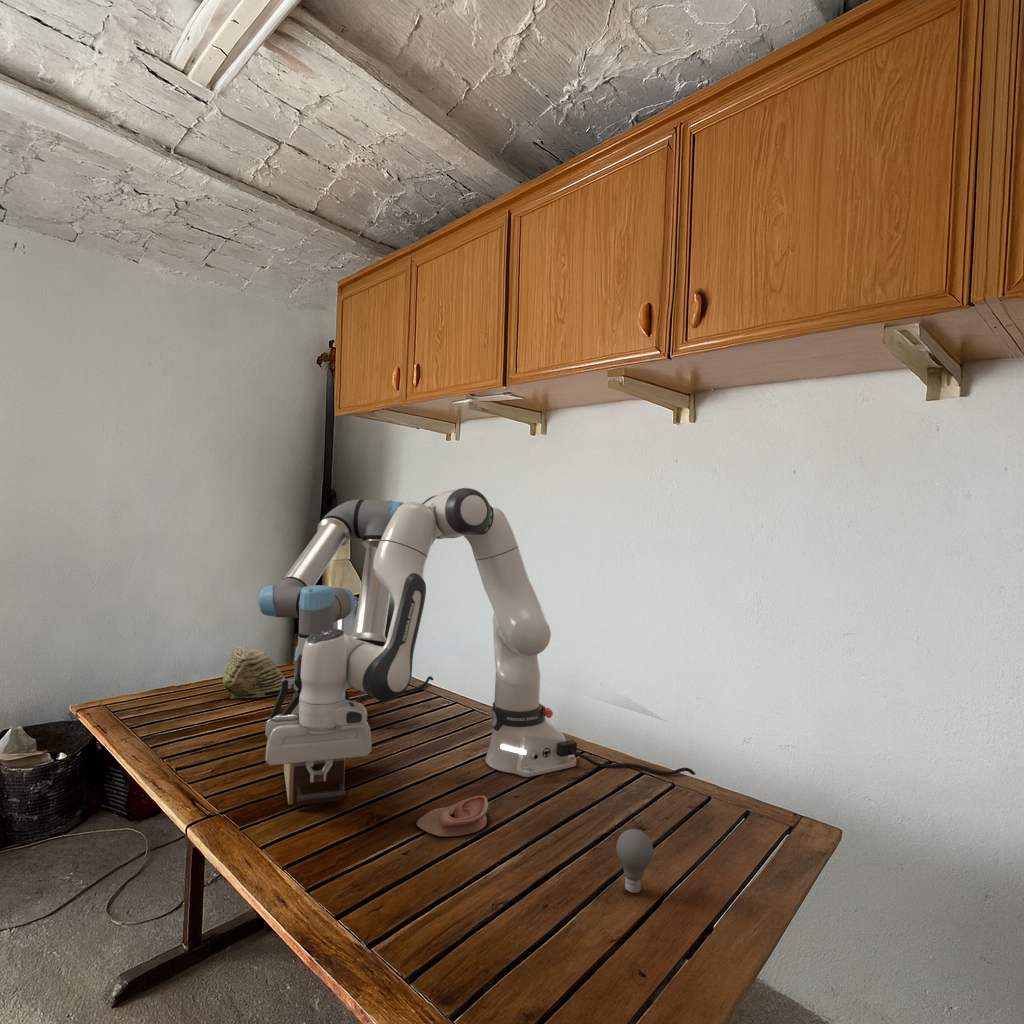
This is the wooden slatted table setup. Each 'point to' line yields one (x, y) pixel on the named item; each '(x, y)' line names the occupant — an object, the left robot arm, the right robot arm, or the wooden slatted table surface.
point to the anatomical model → (456, 818)
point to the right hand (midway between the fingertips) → (317, 781)
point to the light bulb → (634, 857)
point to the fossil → (251, 674)
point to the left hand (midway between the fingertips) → (311, 750)
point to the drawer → (318, 784)
